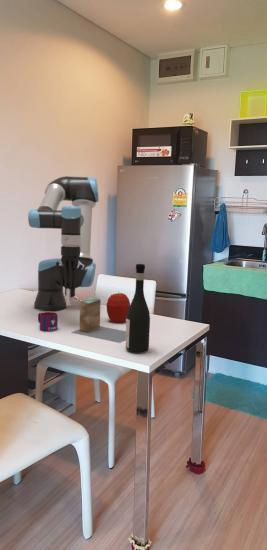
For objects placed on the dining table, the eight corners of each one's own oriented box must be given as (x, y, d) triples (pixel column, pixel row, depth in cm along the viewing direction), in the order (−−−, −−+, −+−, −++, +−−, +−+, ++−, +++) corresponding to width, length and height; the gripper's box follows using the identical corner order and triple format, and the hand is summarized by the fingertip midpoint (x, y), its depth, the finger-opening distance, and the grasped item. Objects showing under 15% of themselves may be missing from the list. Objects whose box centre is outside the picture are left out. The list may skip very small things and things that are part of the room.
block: (79, 331, 166) (80, 301, 164) (91, 326, 173) (92, 297, 171) (88, 333, 164) (88, 302, 162) (99, 328, 171) (100, 299, 169)
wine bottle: (121, 351, 146) (124, 264, 141) (130, 345, 153) (133, 262, 149) (144, 355, 143) (148, 266, 139) (151, 348, 151) (155, 263, 146)
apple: (119, 318, 190) (120, 287, 188) (134, 323, 183) (135, 291, 181) (100, 321, 183) (101, 289, 181) (116, 327, 176) (117, 293, 174)
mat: (70, 333, 164) (70, 332, 164) (91, 325, 176) (91, 324, 176) (120, 344, 154) (120, 342, 154) (138, 335, 166) (138, 333, 166)
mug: (45, 334, 163) (45, 316, 162) (32, 328, 170) (32, 311, 169) (60, 331, 167) (60, 314, 166) (47, 325, 175) (48, 309, 173)
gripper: (51, 245, 168) (50, 303, 172) (78, 247, 162) (77, 308, 165) (63, 244, 174) (62, 300, 178) (89, 246, 168) (88, 305, 172)
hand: (69, 304), depth 172 cm, fingers closed
